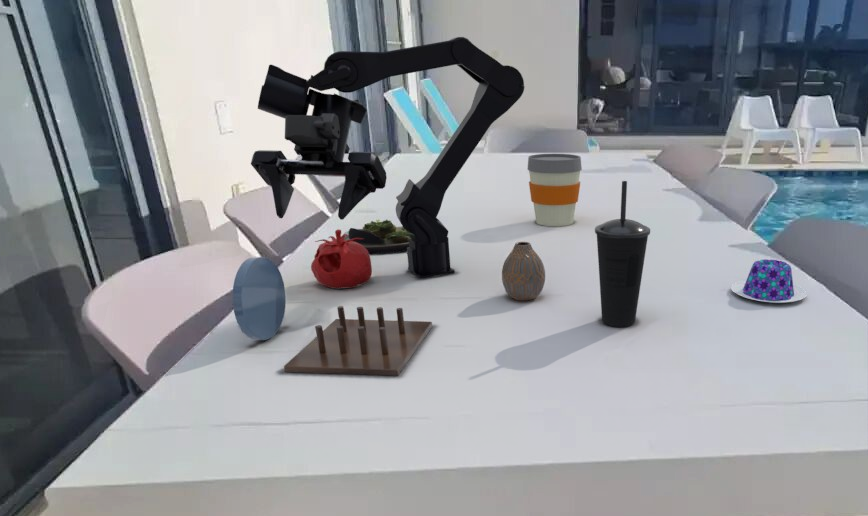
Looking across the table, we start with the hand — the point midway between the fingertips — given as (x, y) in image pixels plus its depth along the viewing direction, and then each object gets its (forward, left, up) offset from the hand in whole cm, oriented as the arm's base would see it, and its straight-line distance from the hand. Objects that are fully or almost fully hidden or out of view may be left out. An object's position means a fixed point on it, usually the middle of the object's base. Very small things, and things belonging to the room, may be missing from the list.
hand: (309, 217), depth 93 cm
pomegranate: (-6, -9, -14) cm, 18 cm away
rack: (0, +20, -14) cm, 24 cm away
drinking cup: (-34, +31, -14) cm, 48 cm away
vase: (-28, +14, -14) cm, 34 cm away
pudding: (-62, +35, -14) cm, 72 cm away
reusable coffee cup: (-62, -29, -14) cm, 70 cm away
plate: (+9, +8, -13) cm, 18 cm away
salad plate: (-20, -31, -14) cm, 40 cm away
